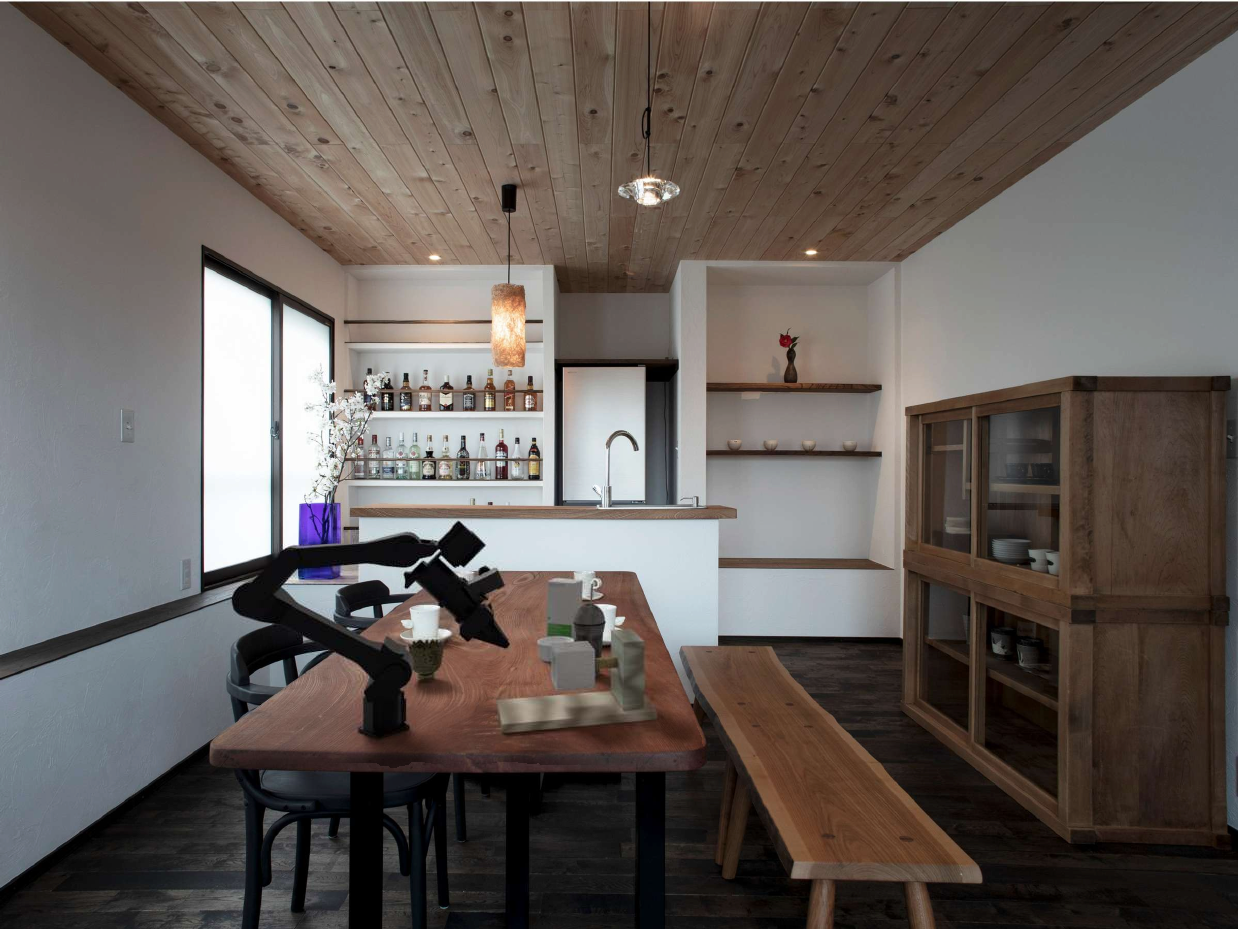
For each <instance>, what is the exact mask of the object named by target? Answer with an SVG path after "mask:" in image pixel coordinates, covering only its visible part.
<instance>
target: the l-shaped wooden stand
mask: <svg viewBox="0 0 1238 929" xmlns="http://www.w3.org/2000/svg"><path fill="white" fill-rule="evenodd" d="M595 669H600V670H604V669H605V670H606V669H610V691H609V690H608V691H605V690H604V691H592V692H581V693H570V694H569V693H568V694H557V695H544V696H543V695H541V696H531V697H517V698H516V697H515V698H505V699H497V700H496V701H497V702H496V710H497V714H498V719H499V720H498V721H499V724H500V730H501V733H502V734H507V733H509V734H510V733H517V732H518V733H519V732H529V731H538V730H539V731H543V730H552V729H553V730H554V729H563V728H572V727H573V728H575V727H585V726H586V727H587V726H596V725H607V724H609V725H610V724H617V723H618V724H620V723H631V722H643V721H652V720H653V721H654V720H658V710H657V709H656V708H655V706H653V704H652V703H651V702H650V700H648V699H647V697H646V696H645V640H644V639H643V638H641V637H640V635H638V634H637V633H636V632H635V631H634V630H633V629H631V628H625V629H623V628H622V629H611V630H610V657H601V658H595Z"/></svg>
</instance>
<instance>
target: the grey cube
mask: <svg viewBox="0 0 1238 929" xmlns="http://www.w3.org/2000/svg"><path fill="white" fill-rule="evenodd" d="M550 663H551V668H550V669H551V672H550V674H551V675H550V677H551V682H552V685H553V686H554V688H555V691H556V692H567V691H568V692H569V691H579V690H580V691H581V690H594V689H595V688H596V677H595V650H594V648H593V647H592V646H591V645H590V643H589V642H588V641H578V642H576V641H574V642H561V643H551V662H550Z"/></svg>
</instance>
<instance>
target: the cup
mask: <svg viewBox="0 0 1238 929" xmlns="http://www.w3.org/2000/svg"><path fill="white" fill-rule="evenodd" d="M424 640H425V641H423V640H422V639H418V640H413V641H411V642H412V645H411V644H410V643H408V651H409V652H410V653H411V655H412V657H413V661H414V663H413V672H415V673H416V674H417V680H419V682H431V681H433V680H434V679H435V678H436V672H437V671H438V670H439V669H440V668H441V666H442V662H443V655H444V649H445V648H444V645H445V641H442V640H440V641H439V640H438V639H433V638H432V639H431V640H430V641H429V639H428V638H427V639H424Z"/></svg>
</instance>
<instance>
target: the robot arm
mask: <svg viewBox="0 0 1238 929" xmlns="http://www.w3.org/2000/svg"><path fill="white" fill-rule="evenodd" d="M486 546H487V544H485V542H484V541H483V540H482V539H481V538H480V537H479V536H478V535H477V534H476V533H475V532H474V531H473V530H470V529H469V528H468V527H467V526H466V525H464V523H462V522H461V520H457V521H456V522H454V524H453V525H452V526H451V528H450V529H449V530H448V531H447V532H446V533H445V534H444V535H443V536H442V537H441V538H440V539H439V540H435V539H424V538H420V537H419V536H418V535H417V534H416V533H415V532H411V531H404V532H398V533H395V534H390V535H386V536H382V537H378V538H375V539H371V540H367V541H354V542H353V541H352V542H340V543H327V544H326V543H325V544H311V545H309V544H308V545H297V544H295V545H294V544H293V545H290V546H287V547H285V548H284V549H282V550H280V551H279V552H278V555H277V556H276V557H275V558H274V559H273V560H272V561H271V562H270V563H269V564H268V565H267V566H266V567H265V568H264V569H263V570H262V571H261V572H260V573H259V574H258V575H257V576H256V577H254V578H251V579H250V580H247V581H245V582H244V583H243V584H241V585H239V586H238V587H237V588H236V589H235V590H234V591H233V594H232V596H231V605H232V610H233V611H234V612H235V613H236V614H237V615H239V616H241V617H243V618H246V619H250V620H253V621H256V622H260V623H263V624H264V623H265V624H271V625H277V626H282V627H283V628H285V629H288V630H290V631H292V632H294V633H296V634H298V635H300V636H301V637H303V638H305V639H307V640H309V641H312V642H314V643H316V644H318V645H319V646H321V647H323V648H325V649H327V650H330V651H332V652H333V653H335V654H337V655H340V656H341V657H343V658H345V659H347V660H348V661H351V662H353V663H355V664H356V665H358V666H359V667H360V669H362V670H363V672H365V674H367V676H368V680H367V682H366V685H365V688H364V691H363V694H364V696H363V695H362V725H360V726H358V727H357V731H359V732H361V733H364V734H366V735H369V736H370V737H373V738H375V739H380V738H383V737H387V736H390V735H393V734H396V733H399V732H401V731H404V730H406V729H407V730H408V729H410V726H411V724H410V723H407V698H406V697H405V690H402V689H403V688H404V687H406V686H407V684H409V682H410V681H411V679H412V675H413V672H414V670H413V663H414V661H413V657H412V655H411V653H410V652H409V649H407V644H402V643H398V642H396V641H395V640H394V639H392V638H391V637H390V636H384V638H383V639H384V640H383V641H382V642H381V641H374V640H370V639H368V638H366V637H364V636H362V635H360V634H358V633H356V632H355V631H352V630H351V629H349V628H347V627H345V626H343V625H341V624H339V623H337V622H335V621H333V620H332V619H331V618H328V617H325V616H324V615H322V614H320V613H318V612H316V611H314V610H312V609H310V608H308V607H306V606H304V605H302V604H301V603H298V601H297V600H295V598H293V596H291V594H290V593H289V592H288V591H287V590H286V589H285V588H283V586H284V584H285V583H286V582H287V581H289V579H290V578H291V577H292V576H293V575H294V574H295V573H296V571H297V570H302V569H303V570H304V569H305V570H306V569H316V568H317V569H318V568H328V567H329V568H330V567H340V566H353V565H366V564H367V565H374V566H376V565H377V566H382V567H388V568H389V567H390V568H391V567H392V568H400V569H404V568H407V569H408V568H410V567H413V566H415V565H416V563H417V562H419V561H420V559H421V562H419V563H418V564H417V565H416V566H415V567H414V568H413V569H412V570H410V571H404V572H403V577H404V586H403V587H404V589H406V590H409V589H410V587H411V586H412V585H413V584H414V583H416V584H417V585H418V586H419V587H421V589H423V590H424V591H425V592H426V593H427V594H428V595H429V596H430V597H431V598H432V599H434V601H436V602H437V606H438V607H439V608H441V609H443V608H444V610H445V611H446V612H448V613H449V614H450V615H451V616H452V617H453V618H454V622H456V623H457V625H459V626H458V627H459V628H458V629H459V636H460V637H461V638H462V639H463V640H465V641H466V642H467V643H468V642H470V641H471V640H472V639H474V640H478V641H480V642H483V643H487V644H490V645H494V646H497V647H499V648H502V649H505V650H507V649H508V648H509V647H510V645H511V644H510V642H509V639H508V636H506V634H505V633H504V631H503V629H501V627H500V626H499V623H498V622H497V621H496V619H495V611H494V609H493V605H492V602H489V603H488V604H486V603H483V602H484V601H486V602H487V601H489V599H490V598H489V594H490V593H492V592H494V591H496V590H500V589H502V588H504V587H505V586H506V584H505V581H504V579H503V577H502V576H501V573H500V572H499V570H498V567H493V568H490V567H489V566H487V565H482V566H481V567H479V568H477V569H478V570H477V571H478V573H477V576H476V575H475V576H474V578H471V579H469V580H468V579H466V578H465V577H464V576H463V577H462V576H459V575H458V574H457V573H456V572H454V570H453V569H452V568H451V567H450V566H448V565H447V564H446V563H445V562H444V561H443V560H442V559H441V557H442V558H443V559H444V560H445V561H446V562H447V563H448V564H449V565H451V566H452V567H453V568H454V569H456V568H459V567H460V566H461V567H462V568H465V567H466V566H467V565H468V564H470V562H471V561H472V560H473V559H475V557H476V556H477V555H479V553H480V552H481V551H482V550H484V548H485V547H486ZM439 550H440V551H439ZM437 551H438V552H437ZM432 556H433V557H432ZM431 557H432V558H431ZM426 558H431V559H430V560H429V561H425V560H422V559H426Z"/></svg>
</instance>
